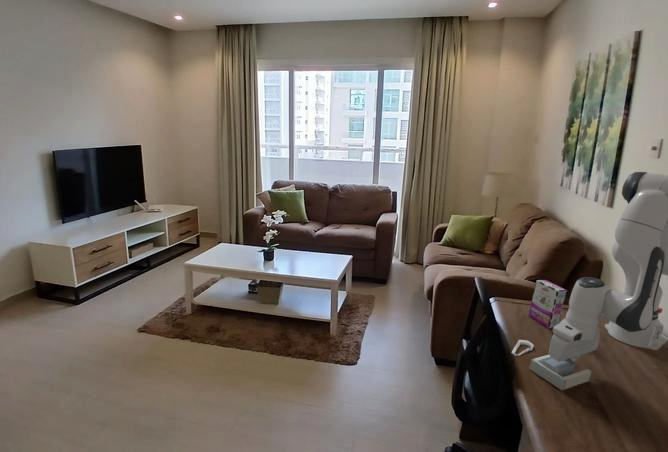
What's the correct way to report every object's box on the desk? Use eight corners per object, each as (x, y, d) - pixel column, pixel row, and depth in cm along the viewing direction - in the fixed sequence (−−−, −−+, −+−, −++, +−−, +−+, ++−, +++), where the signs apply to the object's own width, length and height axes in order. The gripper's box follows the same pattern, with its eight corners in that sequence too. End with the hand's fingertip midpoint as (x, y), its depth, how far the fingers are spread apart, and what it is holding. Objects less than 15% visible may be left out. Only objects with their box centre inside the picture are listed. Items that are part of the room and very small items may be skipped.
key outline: (525, 362, 136) (526, 358, 135) (510, 356, 139) (511, 352, 138) (534, 345, 146) (535, 341, 145) (520, 340, 149) (520, 336, 148)
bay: (555, 360, 136) (557, 351, 135) (588, 380, 126) (591, 371, 126) (529, 368, 130) (531, 359, 129) (561, 390, 121) (564, 380, 120)
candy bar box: (558, 328, 160) (568, 290, 156) (548, 329, 158) (557, 290, 154) (537, 315, 170) (545, 279, 166) (527, 315, 169) (535, 279, 164)
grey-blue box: (557, 369, 132) (560, 353, 130) (571, 377, 127) (575, 362, 126) (540, 374, 128) (544, 358, 127) (555, 383, 124) (559, 367, 122)
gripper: (589, 318, 134) (580, 354, 137) (549, 328, 125) (540, 367, 128) (609, 327, 128) (598, 365, 132) (568, 338, 119) (558, 378, 123)
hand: (569, 366), depth 130 cm, fingers closed
